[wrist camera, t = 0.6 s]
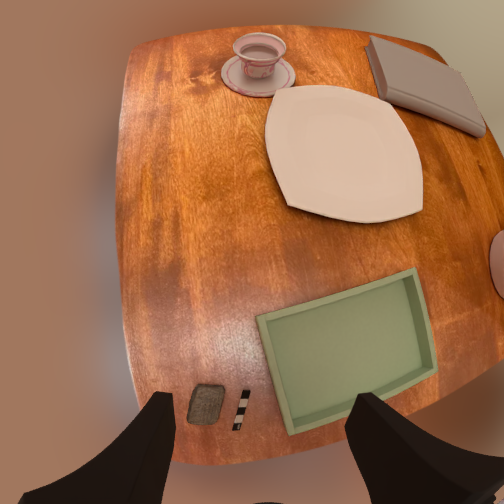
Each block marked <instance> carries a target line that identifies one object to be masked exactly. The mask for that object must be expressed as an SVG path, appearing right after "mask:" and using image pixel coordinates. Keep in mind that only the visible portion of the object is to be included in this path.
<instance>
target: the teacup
mask: <svg viewBox="0 0 504 504" xmlns="http://www.w3.org/2000/svg"><path fill="white" fill-rule="evenodd" d="M233 50H234V52H235V53H236V54H237V56H235V57H233V58H231V59H230V60H228V61H227V62H226V63H225V64H224V66H223V68H222V71H221V77H222V79H223V81H224V83H225V84H226V85H227V86H228V87H229V88H230V89H232V90H233V91H236V92H238V93H240V94H243V95H248V96H253V97H270V96H274V95H275V93H276V90H277V89H283V88H289V87H292V86H293V84H294V81H295V78H296V76H295V72H294V69H293V68H292V66H291V65H290V64H289V63H288V62H286V61H285V60H283V59H282V58H281V57H283V56H284V54H285V51H286V45H285V43H284V42H283V40H282V39H280V38H279V37H277V36H275V35H272V34H268V33H250V34H247V35H244V36H242V37H240V38H238V39H237V40H236V41H235V42H234V44H233Z"/></svg>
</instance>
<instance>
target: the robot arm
mask: <svg viewBox="0 0 504 504" xmlns="http://www.w3.org/2000/svg"><path fill="white" fill-rule="evenodd" d="M344 427H345V431H346V435H347V439H348V443H349V446H350V449H351V451H352V454H353V456H354V458H355V461H356V463H357V465H358V468H359V470H360V472H361V474H362V477H363V479H364V481H365V484H366V486H367V489H368V492H369V495H370V499H371V503H372V504H494V503H493V502H494V501H495V500H496V497H495V495H494V494H495V493H496V492H497V491H498V490H499V489H500V488H501V487H502V486H503V485H504V457H495V456H488V455H483V454H479V453H474V452H471V451H467V450H464V449H461V448H459V447H456V446H453V445H451V444H449V443H446V442H444V441H442V440H440V439H438V438H436V437H434V436H433V435H431V434H429V433H427V432H426V431H424V430H422V429H421V428H419V427H418V426H416V425H415V424H413V423H412V422H410V421H409V420H408V419H406V418H405V417H403V416H402V415H401V414H399V413H398V412H397V411H395V410H394V409H393V408H391V407H390V406H389V405H388V404H386V403H385V402H384V401H382V400H381V399H380V398H378V397H377V396H376V395H374V394H373V393H372V392H367V393H359V394H358V395H357V398H356V400H355V403H354V405H353V407H352V410H351V412H350V415H349V417H348V419H347V422H346V424H345V426H344ZM175 431H176V424H175V415H174V406H173V395H172V393H166V392H158V391H156V392H155V393H153V395H152V396H151V398H150V399H149V401H148V402H147V403H146V405H145V406H144V407H143V409H142V410H141V411H140V413H139V414H138V415H137V416H136V417H135V419H134V420H133V421H132V422H131V423H130V424H129V425H128V427H127V428H126V429H125V430H124V431H123V432H122V433H121V434H120V435H119V436H118V437H117V438H116V439H115V440H114V441H113V442H112V443H111V444H110V445H109V446H108V447H107V448H105V449H104V450H103V451H102V452H101V453H99V454H98V455H97V456H96V457H94V458H93V459H92V460H90V461H89V462H88V463H86V464H85V465H83V466H82V467H80V468H79V469H77V470H76V471H74V472H72V473H70V474H69V475H67V476H65V477H63V478H61V479H59V480H57V481H55V482H53V483H51V484H48V485H46V486H43V487H40V488H38V489H35V490H32V491H29V492H26V493H24V494H23V496H22V497H21V499H20V501H19V502H18V504H161V501H162V496H163V491H164V487H165V482H166V478H167V474H168V470H169V465H170V462H171V458H172V453H173V449H174V440H175ZM498 504H504V499H502V500H501V501H500V502H499V503H498Z"/></svg>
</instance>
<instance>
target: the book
mask: <svg viewBox="0 0 504 504" xmlns="http://www.w3.org/2000/svg"><path fill="white" fill-rule="evenodd" d="M369 37H370V39H371V40H370V42H369V44H368V47H366V46H365V51H366V54H367V57H368V60H369V63H370V66H371V70H372V73H373V76H374V80H375V84H376V87H377V91H378V95H379V99H380V100H382V101H385V102H388V103H391V104H394V105H397V106H400V107H404V108H407V109H410V110H412V111H415V112H418V113H421V114H424V115H426V116H429V117H432V118H434V119H437V120H439V121H442V122H444V123H447V124H449V125H451V126H454V127H456V128H458V129H460V130H463V131H465V132H467V133H469V134H471V135H473V136H475V137H477V138H482V137H483V136H484V135H485V132H486V126H485V123H484V121H483V119H482V116H481V114H480V112H479V109H478V107H477V105H476V103H475V101H474V98H473V96H472V94H471V92H470V90H469V88H468V86H467V85H466V82H465V81H464V79H463V77H462V75H461V73H460V72H458V71H456V70H454V69H452V68H450V67H449V66H447V65H445V64H442V63H440V62H438V61H436V60H434V59H432V58H430V57H427V56H425V55H423V54H421V53H418V52H416V51H413V50H411V49H408V48H406V47H403V46H401V45H398V44H395V43H392V42H390V41H387V40H384V39H381V38H378V37H375V36H371V35H370V36H369Z"/></svg>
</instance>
